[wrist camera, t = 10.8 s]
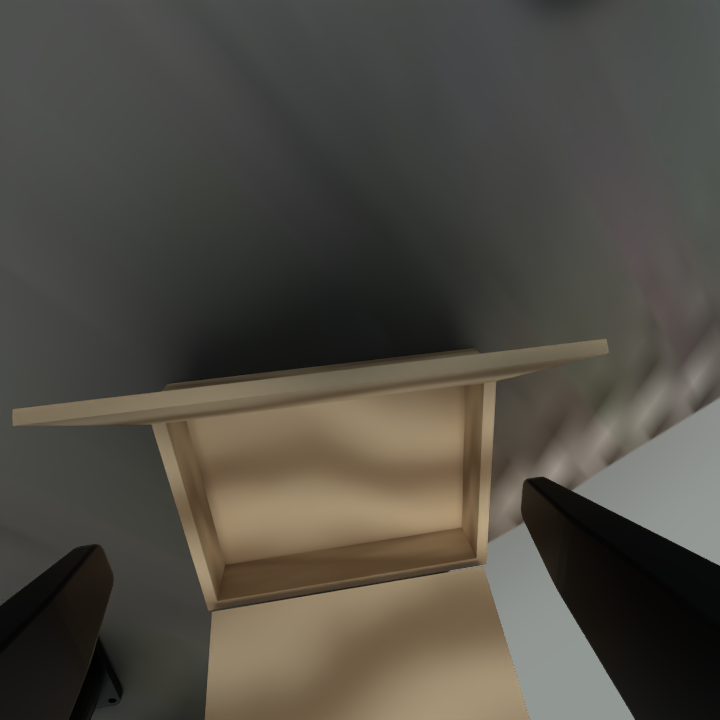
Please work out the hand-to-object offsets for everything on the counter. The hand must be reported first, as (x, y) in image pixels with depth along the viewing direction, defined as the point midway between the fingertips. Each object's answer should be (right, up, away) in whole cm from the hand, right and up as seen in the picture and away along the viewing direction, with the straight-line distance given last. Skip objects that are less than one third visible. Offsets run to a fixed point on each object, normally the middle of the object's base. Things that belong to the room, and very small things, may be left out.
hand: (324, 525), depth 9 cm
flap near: (0, +2, +6) cm, 6 cm away
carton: (-1, -3, +15) cm, 15 cm away
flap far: (+1, -12, +11) cm, 17 cm away
